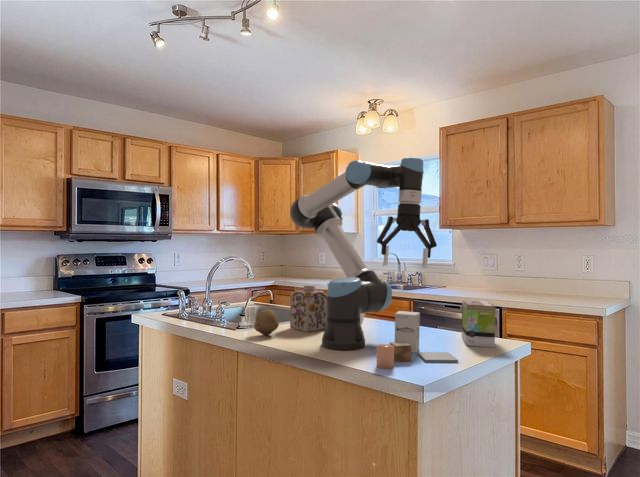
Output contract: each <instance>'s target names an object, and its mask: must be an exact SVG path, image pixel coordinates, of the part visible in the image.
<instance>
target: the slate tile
mask: <svg viewBox="0 0 640 477" xmlns="http://www.w3.org/2000/svg"><path fill="white" fill-rule="evenodd" d="M416 353H417V356H418V357H419V358H420V359H421V360H422V361H423V362H424V363H449V364H450V363H459V359H458V358H456V356H454V355H453V354H451V353H450V352H448V351H417V352H416Z"/></svg>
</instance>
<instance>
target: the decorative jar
mask: <svg viewBox="0 0 640 477" xmlns="http://www.w3.org/2000/svg"><path fill="white" fill-rule="evenodd" d="M289 311H290V312H289V318H290V319H289V323H290V324H289V327H290V329H292V328H293V330H295V331H300V330H301V331H302V332H304V331H305V333H312V332H319V331H323V330H324V329H325V328H326V325H327V293H325V291H324V290H320V289H316V286H315V285H304V286H303V289H297V290H296V291H295V292H293V294H292V295H291V296H290V310H289ZM318 330H319V331H318ZM324 331H325V330H324Z"/></svg>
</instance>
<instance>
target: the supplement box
mask: <svg viewBox="0 0 640 477" xmlns="http://www.w3.org/2000/svg"><path fill="white" fill-rule="evenodd" d="M420 319H421V312H418V311H404V310H398V311H396V313H395V314H394V342H406V343H408V344H410V345H411V354H416V353H417V352H419V349H420V324H421V323H420Z"/></svg>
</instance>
